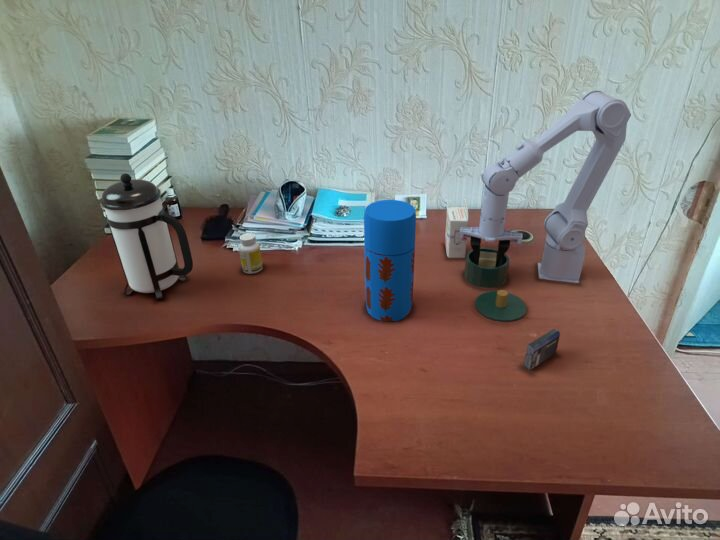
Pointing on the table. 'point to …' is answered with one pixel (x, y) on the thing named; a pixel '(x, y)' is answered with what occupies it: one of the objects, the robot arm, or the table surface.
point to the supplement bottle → (250, 254)
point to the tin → (486, 271)
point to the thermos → (389, 258)
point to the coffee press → (144, 236)
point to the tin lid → (500, 306)
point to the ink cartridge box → (456, 231)
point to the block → (487, 259)
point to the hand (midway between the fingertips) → (486, 264)
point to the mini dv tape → (541, 349)
